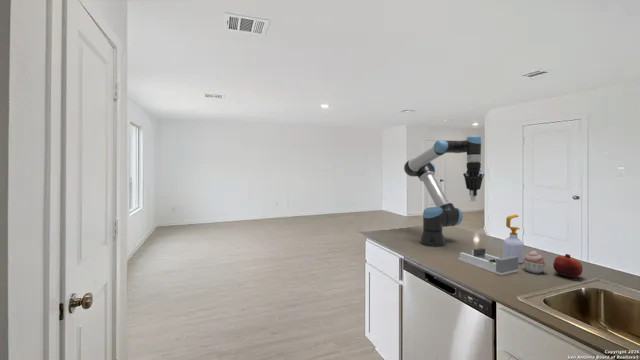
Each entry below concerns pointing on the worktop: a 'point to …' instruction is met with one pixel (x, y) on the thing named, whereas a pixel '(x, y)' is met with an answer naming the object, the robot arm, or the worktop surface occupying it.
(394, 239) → the worktop surface
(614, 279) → the worktop surface
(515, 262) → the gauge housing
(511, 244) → the soap bottle
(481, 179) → the robot arm
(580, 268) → the fruit
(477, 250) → the block with dark end
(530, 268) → the cupcake
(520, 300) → the worktop surface
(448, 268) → the worktop surface
